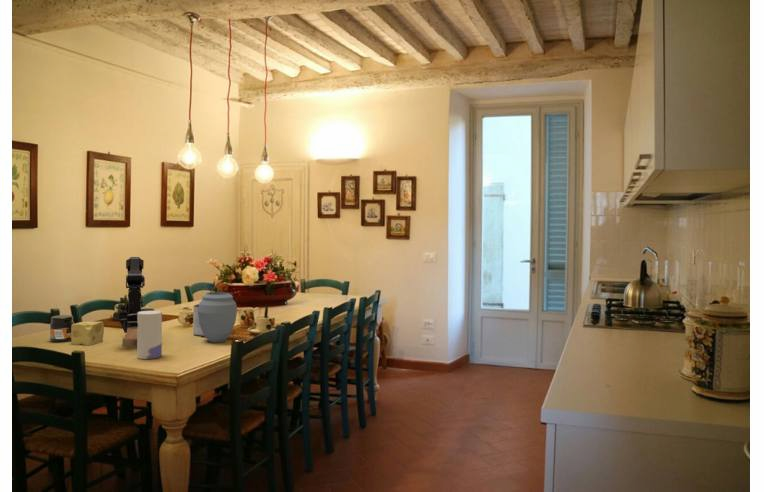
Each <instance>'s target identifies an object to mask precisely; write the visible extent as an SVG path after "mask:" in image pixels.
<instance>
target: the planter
mask: <svg viewBox="0 0 764 492" xmlns="http://www.w3.org/2000/svg"><path fill="white" fill-rule="evenodd" d="M198 306H199V303H198V304H195V305H193V316H192V317H193V318H192V319H193V321H192V323H193V325H192V333H193V334H194V335H195V336H197V337H205V335H204V334H203V332H202V329H201V326H200V323H199V318H198V311H197V310H198Z"/></svg>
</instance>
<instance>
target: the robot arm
mask: <svg viewBox="0 0 764 492" xmlns="http://www.w3.org/2000/svg"><path fill="white" fill-rule="evenodd" d="M144 262H145V261H144V259H142V258H141V257H139V256H130V257H129V258H128V259H126V260H125V269H126V270H127V275H125V289H127V290H128V291H127V300H126V302H125V304H123V303H118V304H117V311H114V313H113V314H112V319H115V320H116V321H118V322H119V323H120V325H121V327H122V330H123V333H124V334H126V333H127V328H130V327H137V315H138V312H141V311H156V310H155V308H149V307H148V308H142V304H143V303H144V301H143V300H142V289H143V288H144V287H145V285H146V279H145V276H144V275H143V270H144V266H145V265H144Z"/></svg>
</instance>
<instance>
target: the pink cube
mask: <svg viewBox="0 0 764 492" xmlns="http://www.w3.org/2000/svg"><path fill="white" fill-rule="evenodd" d="M125 336H126V337H125V338H127V339H131V340H134V339H137V327H130V328H127V333H125Z"/></svg>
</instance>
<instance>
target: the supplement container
mask: <svg viewBox="0 0 764 492" xmlns="http://www.w3.org/2000/svg"><path fill="white" fill-rule="evenodd" d="M72 324H75V322H74V316H73V315H71V314H64V315H63V314H59V315H54V316H53V315H52V316H51V317H50V324H49V327H50V328H49V331H50V332H49V336H50V338H49V339H50V340H49V341H51V342H52V343H68V342H72V341H71V326H72Z"/></svg>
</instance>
